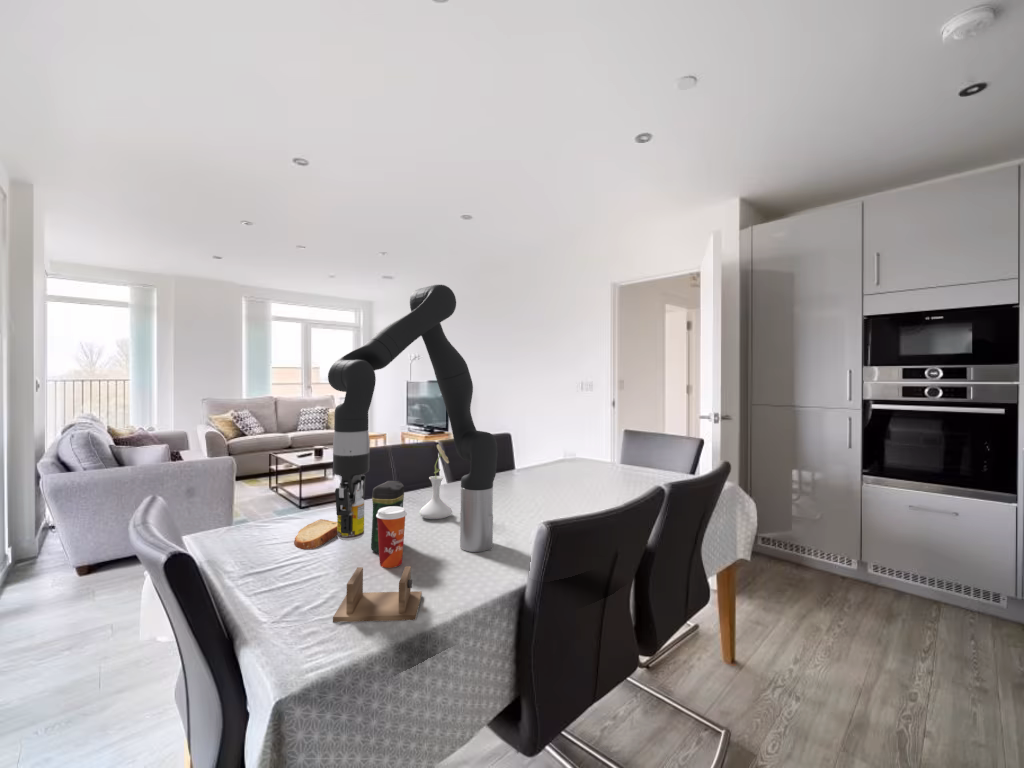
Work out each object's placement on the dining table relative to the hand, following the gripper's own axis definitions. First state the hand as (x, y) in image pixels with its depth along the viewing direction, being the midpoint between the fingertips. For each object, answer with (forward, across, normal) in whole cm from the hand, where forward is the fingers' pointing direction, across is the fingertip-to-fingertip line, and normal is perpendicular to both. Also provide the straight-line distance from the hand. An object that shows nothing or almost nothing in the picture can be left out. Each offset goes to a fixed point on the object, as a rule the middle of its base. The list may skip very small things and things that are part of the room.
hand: (351, 527), depth 98 cm
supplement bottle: (+2, 0, 0) cm, 2 cm away
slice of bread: (+16, +39, +20) cm, 47 cm away
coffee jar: (+16, +29, -2) cm, 33 cm away
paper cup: (+15, +18, -5) cm, 24 cm away
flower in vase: (+16, +58, -12) cm, 61 cm away
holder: (+15, -5, -8) cm, 18 cm away
